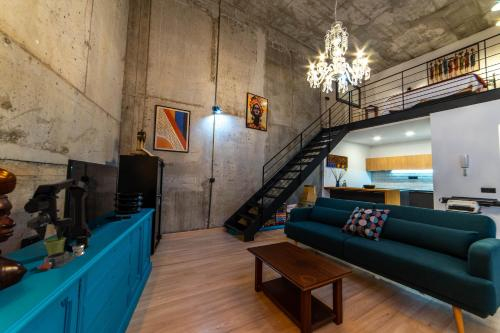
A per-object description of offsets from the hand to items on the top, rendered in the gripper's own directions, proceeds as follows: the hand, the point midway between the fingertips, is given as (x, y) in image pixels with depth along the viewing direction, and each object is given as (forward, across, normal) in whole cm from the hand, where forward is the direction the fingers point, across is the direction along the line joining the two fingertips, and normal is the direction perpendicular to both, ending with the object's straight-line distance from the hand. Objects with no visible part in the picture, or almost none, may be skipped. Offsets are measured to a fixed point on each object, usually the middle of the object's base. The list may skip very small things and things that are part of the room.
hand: (50, 239), depth 100 cm
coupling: (+14, +1, +13) cm, 19 cm away
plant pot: (+14, -14, +14) cm, 24 cm away
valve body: (+14, -1, +3) cm, 14 cm away
